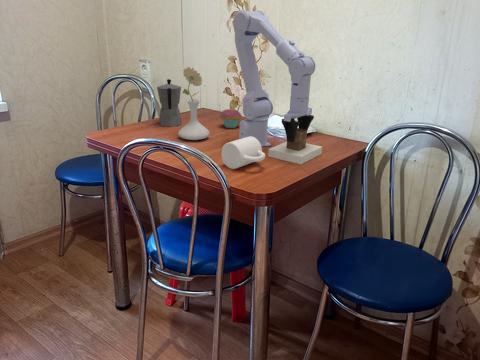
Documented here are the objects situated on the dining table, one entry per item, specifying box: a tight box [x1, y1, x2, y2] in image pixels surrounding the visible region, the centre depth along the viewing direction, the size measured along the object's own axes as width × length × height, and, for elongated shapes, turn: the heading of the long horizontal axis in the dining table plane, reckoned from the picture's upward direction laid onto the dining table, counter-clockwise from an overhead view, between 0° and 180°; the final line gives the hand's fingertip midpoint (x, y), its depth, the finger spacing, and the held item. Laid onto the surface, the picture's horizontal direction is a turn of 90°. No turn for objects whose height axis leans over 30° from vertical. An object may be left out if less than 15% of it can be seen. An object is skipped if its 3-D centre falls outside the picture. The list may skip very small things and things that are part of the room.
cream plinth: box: [267, 141, 323, 166], centre depth 138 cm, size 14×12×2 cm
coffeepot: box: [156, 78, 183, 128], centre depth 168 cm, size 15×9×18 cm, turn 9°
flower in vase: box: [177, 66, 211, 141], centre depth 150 cm, size 13×11×25 cm
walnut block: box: [286, 127, 308, 151], centre depth 137 cm, size 5×5×6 cm
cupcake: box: [219, 99, 242, 129], centre depth 169 cm, size 9×8×12 cm
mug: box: [220, 136, 266, 170], centre depth 126 cm, size 12×10×8 cm
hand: (296, 139), depth 137 cm, fingers open, 7 cm apart
